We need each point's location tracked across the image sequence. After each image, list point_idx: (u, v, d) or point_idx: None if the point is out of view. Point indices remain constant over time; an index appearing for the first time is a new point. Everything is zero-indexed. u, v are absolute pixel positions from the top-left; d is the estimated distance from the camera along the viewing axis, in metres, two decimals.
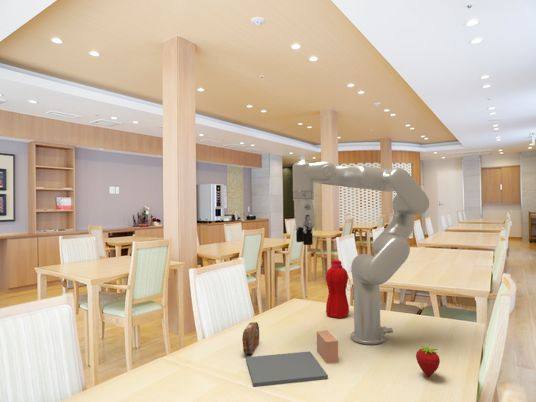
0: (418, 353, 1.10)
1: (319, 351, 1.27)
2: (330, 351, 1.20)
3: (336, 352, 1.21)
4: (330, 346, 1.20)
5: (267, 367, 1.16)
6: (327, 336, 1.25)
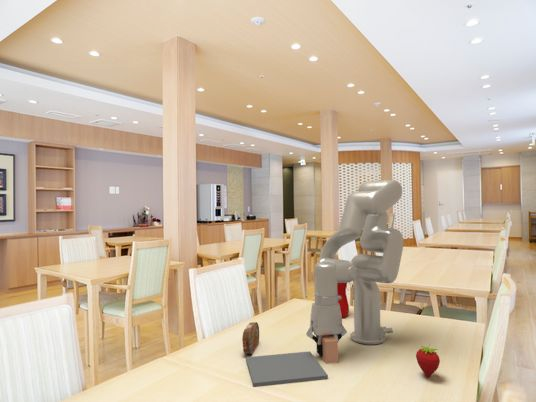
0: (418, 353, 1.10)
1: None
2: (330, 351, 1.20)
3: (336, 352, 1.21)
4: (330, 346, 1.20)
5: (267, 367, 1.16)
6: (327, 335, 1.25)
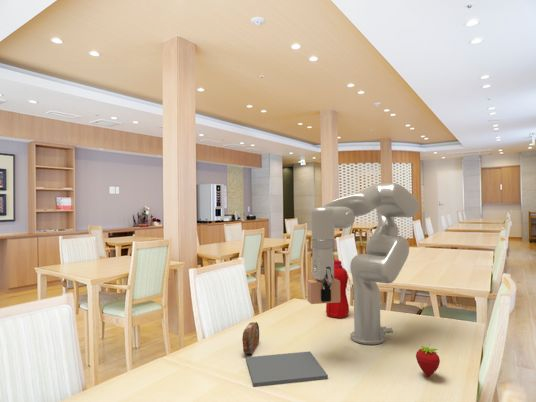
0: (418, 353, 1.10)
1: (319, 299, 1.22)
2: None
3: None
4: None
5: (267, 367, 1.16)
6: None
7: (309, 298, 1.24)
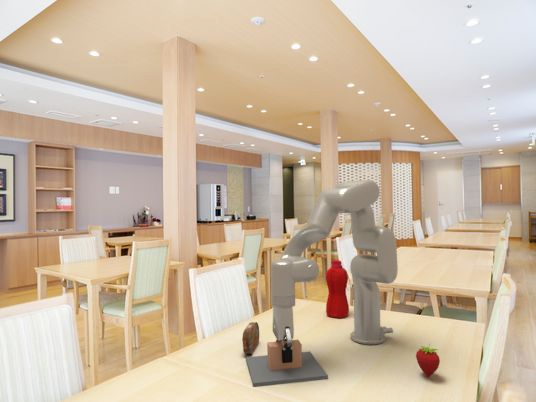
0: (418, 353, 1.10)
1: (279, 365, 1.14)
2: None
3: None
4: None
5: (267, 367, 1.16)
6: (284, 342, 1.17)
7: (268, 363, 1.16)
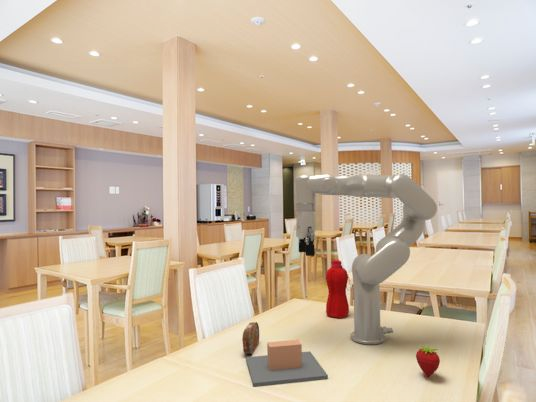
0: (418, 353, 1.10)
1: (279, 365, 1.14)
2: None
3: None
4: None
5: (267, 367, 1.16)
6: (284, 342, 1.17)
7: (268, 363, 1.16)
